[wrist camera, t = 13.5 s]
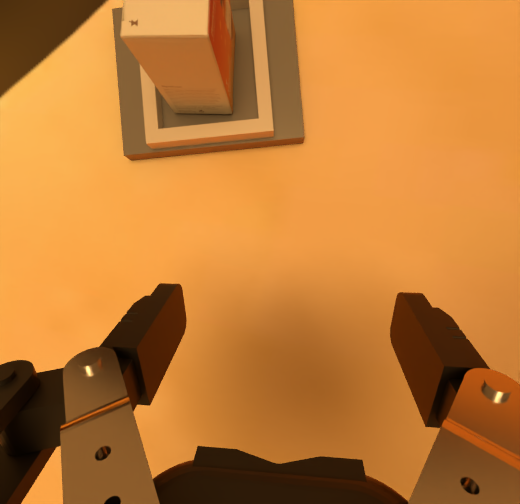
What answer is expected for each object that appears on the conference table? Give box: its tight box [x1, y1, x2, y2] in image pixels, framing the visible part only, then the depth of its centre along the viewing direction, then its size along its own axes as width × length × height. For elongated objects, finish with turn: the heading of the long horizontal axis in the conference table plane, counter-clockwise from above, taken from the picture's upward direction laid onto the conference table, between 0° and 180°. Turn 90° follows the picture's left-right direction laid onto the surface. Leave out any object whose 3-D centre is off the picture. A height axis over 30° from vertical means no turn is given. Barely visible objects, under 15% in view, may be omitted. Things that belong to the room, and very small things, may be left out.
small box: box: [120, 0, 235, 114], centre depth 24 cm, size 8×6×10 cm
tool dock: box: [112, 0, 304, 160], centre depth 29 cm, size 17×14×3 cm
